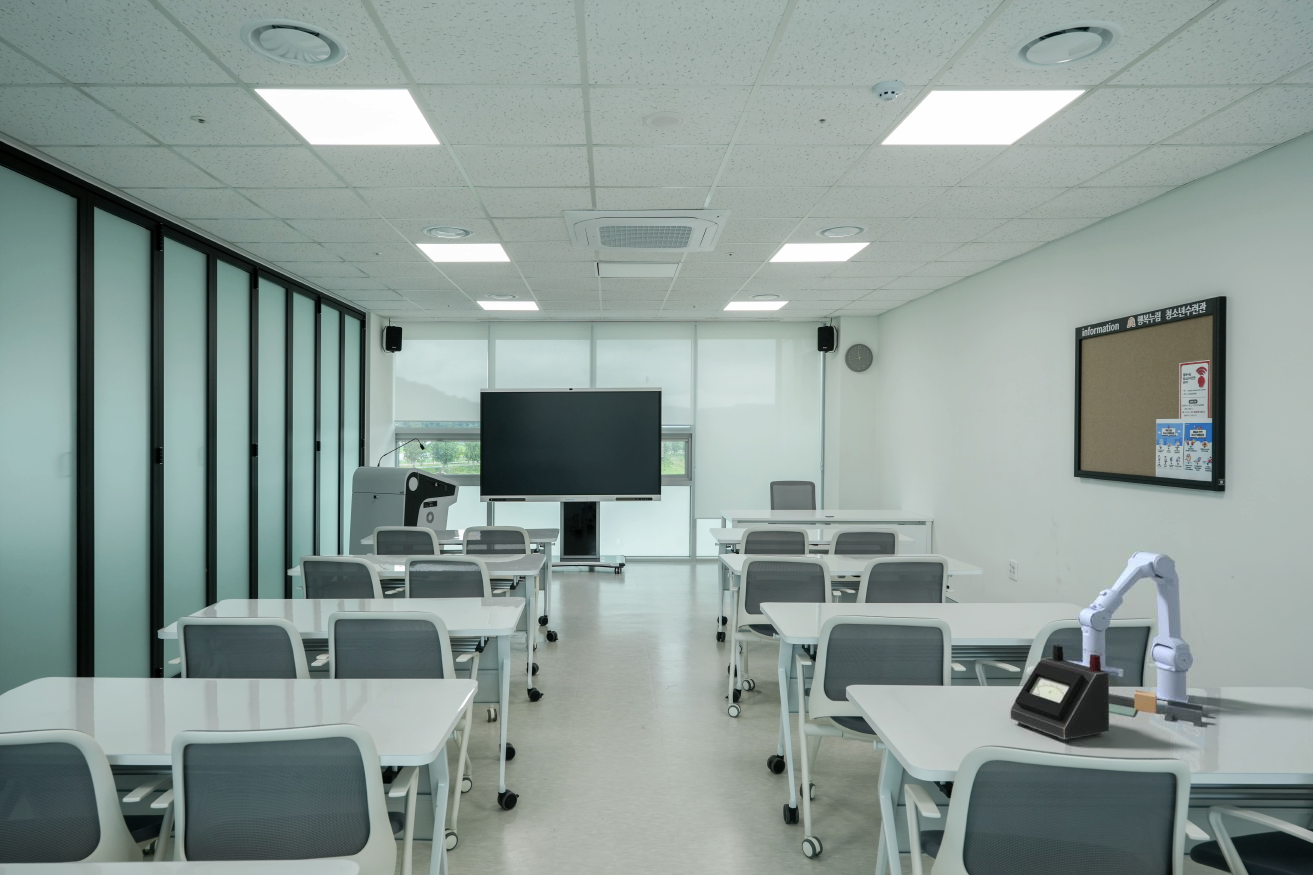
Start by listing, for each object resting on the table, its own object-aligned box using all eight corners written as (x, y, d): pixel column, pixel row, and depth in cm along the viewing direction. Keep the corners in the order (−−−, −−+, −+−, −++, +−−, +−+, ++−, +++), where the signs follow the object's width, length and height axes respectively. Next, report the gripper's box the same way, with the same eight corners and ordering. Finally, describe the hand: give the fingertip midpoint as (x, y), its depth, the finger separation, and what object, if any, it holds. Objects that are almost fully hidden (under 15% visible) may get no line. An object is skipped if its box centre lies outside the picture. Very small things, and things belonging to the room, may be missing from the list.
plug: (1104, 700, 222) (1104, 684, 223) (1156, 709, 214) (1156, 693, 215) (1102, 703, 219) (1102, 687, 219) (1155, 713, 211) (1155, 697, 211)
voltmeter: (1009, 724, 200) (1009, 647, 201) (1053, 717, 206) (1053, 643, 207) (1063, 745, 185) (1063, 662, 186) (1109, 736, 192) (1108, 657, 192)
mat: (1104, 703, 219) (1104, 702, 219) (1136, 709, 214) (1136, 708, 214) (1099, 710, 213) (1099, 709, 213) (1133, 716, 208) (1133, 715, 208)
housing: (1168, 707, 217) (1168, 696, 217) (1203, 712, 212) (1203, 702, 212) (1164, 719, 205) (1164, 708, 206) (1200, 726, 201) (1200, 715, 201)
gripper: (1063, 648, 224) (1063, 694, 224) (1120, 656, 215) (1121, 704, 215) (1068, 644, 230) (1068, 689, 229) (1123, 652, 221) (1124, 699, 220)
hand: (1094, 696), depth 222 cm, fingers closed
